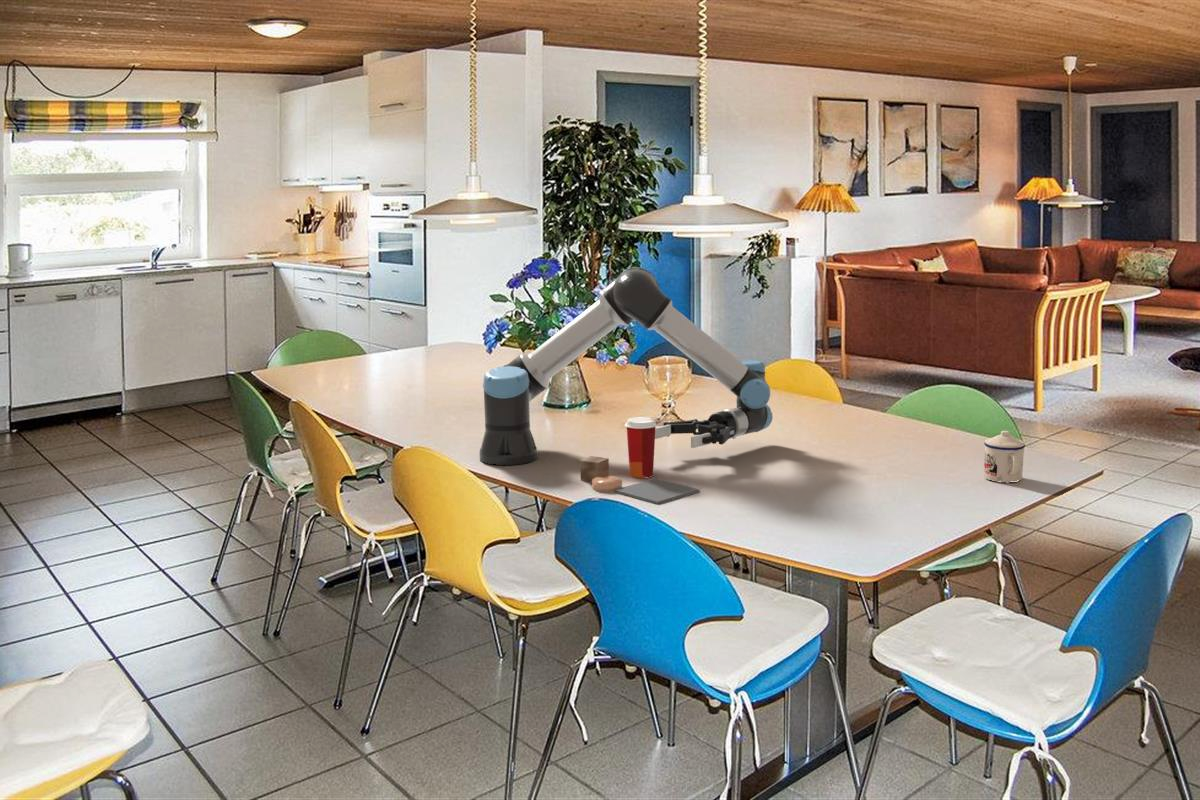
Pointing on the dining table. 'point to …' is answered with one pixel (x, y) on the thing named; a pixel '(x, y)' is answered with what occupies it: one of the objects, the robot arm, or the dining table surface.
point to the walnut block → (594, 467)
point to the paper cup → (641, 446)
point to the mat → (656, 491)
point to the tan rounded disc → (606, 483)
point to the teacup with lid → (1003, 458)
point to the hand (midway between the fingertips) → (671, 438)
